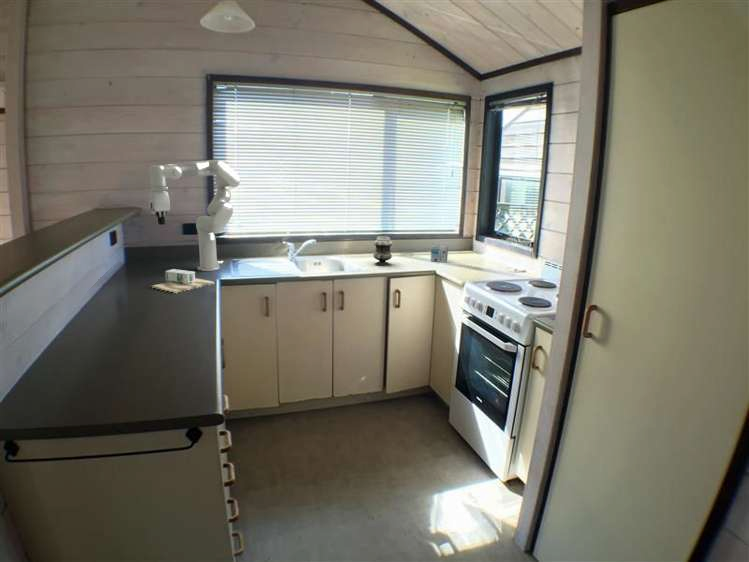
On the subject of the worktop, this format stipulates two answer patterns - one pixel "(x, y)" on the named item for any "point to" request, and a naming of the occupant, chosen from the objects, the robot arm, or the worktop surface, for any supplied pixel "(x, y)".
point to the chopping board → (182, 285)
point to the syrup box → (180, 276)
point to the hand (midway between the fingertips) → (161, 224)
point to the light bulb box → (439, 253)
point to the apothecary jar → (382, 250)
